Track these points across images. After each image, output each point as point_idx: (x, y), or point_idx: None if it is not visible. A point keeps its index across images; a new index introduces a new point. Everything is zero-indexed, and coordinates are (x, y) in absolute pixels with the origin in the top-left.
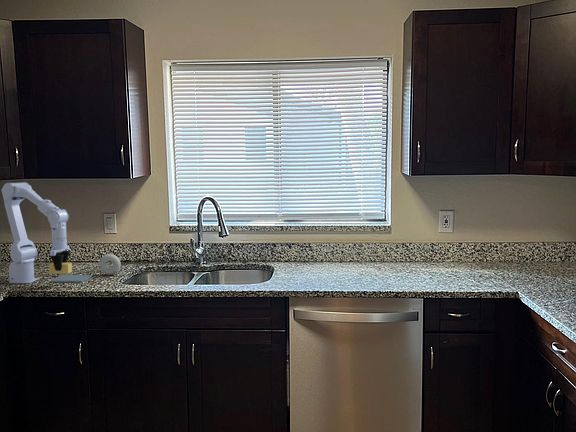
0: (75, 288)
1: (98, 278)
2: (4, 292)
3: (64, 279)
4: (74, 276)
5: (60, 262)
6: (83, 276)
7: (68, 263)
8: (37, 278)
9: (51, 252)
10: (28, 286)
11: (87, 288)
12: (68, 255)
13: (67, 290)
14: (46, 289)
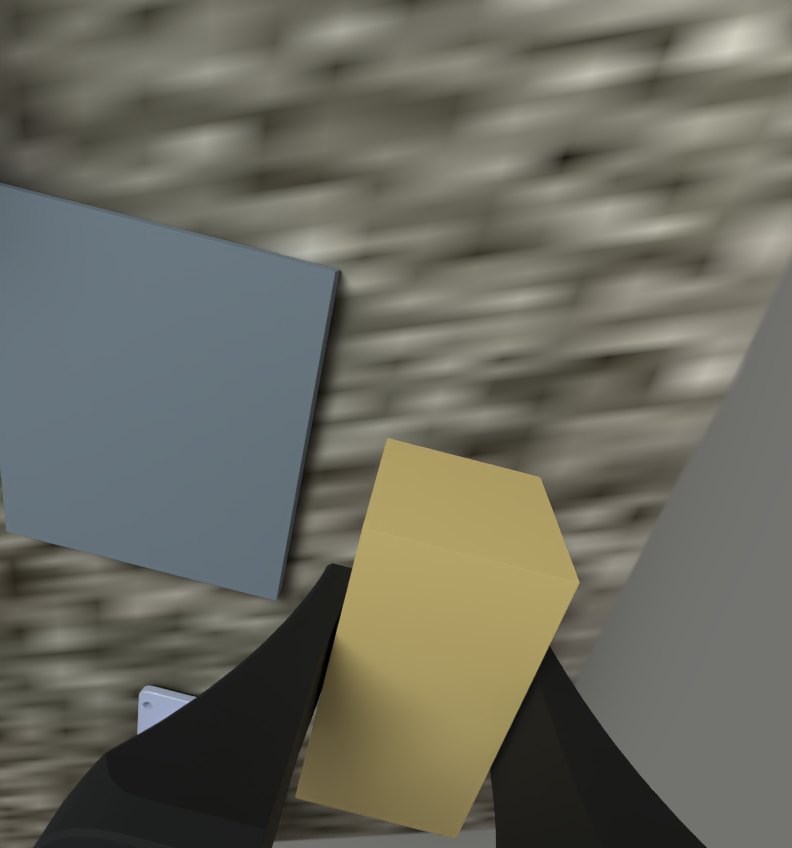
0: (635, 312)
1: (91, 63)
2: None
3: (223, 486)
4: (74, 400)
5: (620, 752)
6: (69, 291)
7: (457, 579)
8: (150, 696)
9: None
10: None
11: (704, 141)
12: (211, 728)
13: (706, 392)
14: None
